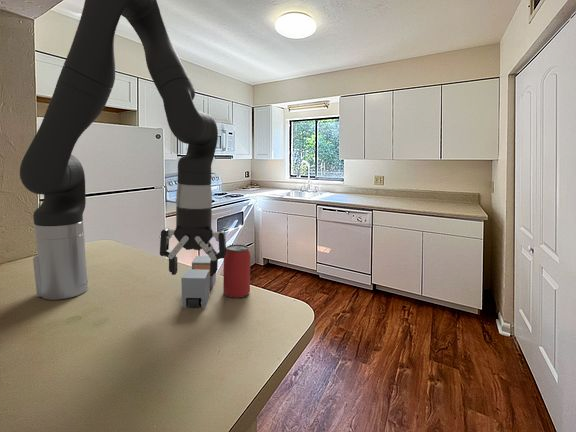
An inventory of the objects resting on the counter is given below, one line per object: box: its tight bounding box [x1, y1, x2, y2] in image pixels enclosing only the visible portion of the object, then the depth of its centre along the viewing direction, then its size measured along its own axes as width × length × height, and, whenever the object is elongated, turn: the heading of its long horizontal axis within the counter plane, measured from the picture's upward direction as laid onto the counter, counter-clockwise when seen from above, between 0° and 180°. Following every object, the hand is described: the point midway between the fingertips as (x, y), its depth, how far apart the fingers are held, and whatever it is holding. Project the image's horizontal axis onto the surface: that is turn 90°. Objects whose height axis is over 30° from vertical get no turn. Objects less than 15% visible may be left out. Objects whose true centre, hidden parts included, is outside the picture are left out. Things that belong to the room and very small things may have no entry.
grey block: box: [180, 268, 211, 309], centre depth 74 cm, size 5×6×7 cm
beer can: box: [222, 244, 252, 299], centre depth 79 cm, size 7×7×12 cm
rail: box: [187, 298, 201, 309], centre depth 79 cm, size 2×16×2 cm, turn 5°
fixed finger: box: [191, 255, 217, 290], centre depth 84 cm, size 5×6×7 cm
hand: (193, 274), depth 73 cm, fingers open, 8 cm apart
